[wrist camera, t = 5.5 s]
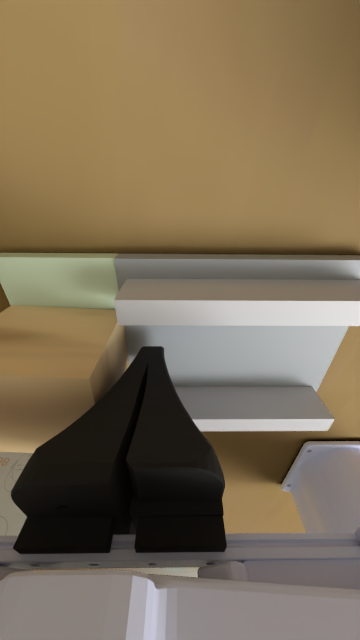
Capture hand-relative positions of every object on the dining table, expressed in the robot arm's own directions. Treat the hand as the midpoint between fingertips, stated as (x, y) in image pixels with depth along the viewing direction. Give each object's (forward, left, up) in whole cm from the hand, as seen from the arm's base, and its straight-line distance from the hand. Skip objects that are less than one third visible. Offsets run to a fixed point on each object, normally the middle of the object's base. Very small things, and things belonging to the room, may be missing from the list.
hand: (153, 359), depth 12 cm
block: (0, +5, -1) cm, 5 cm away
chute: (0, -2, -2) cm, 3 cm away
